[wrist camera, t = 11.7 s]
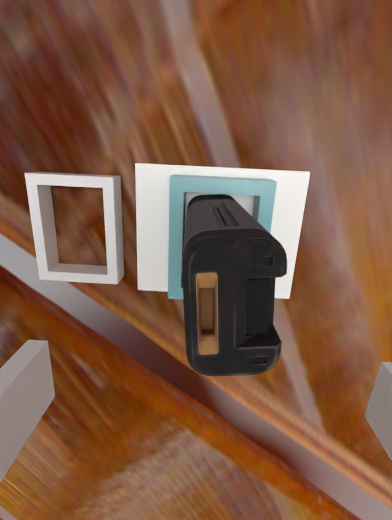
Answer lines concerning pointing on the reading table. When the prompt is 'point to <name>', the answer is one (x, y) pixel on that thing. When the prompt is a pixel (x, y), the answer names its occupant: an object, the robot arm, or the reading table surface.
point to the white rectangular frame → (46, 230)
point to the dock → (210, 183)
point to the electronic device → (229, 288)
